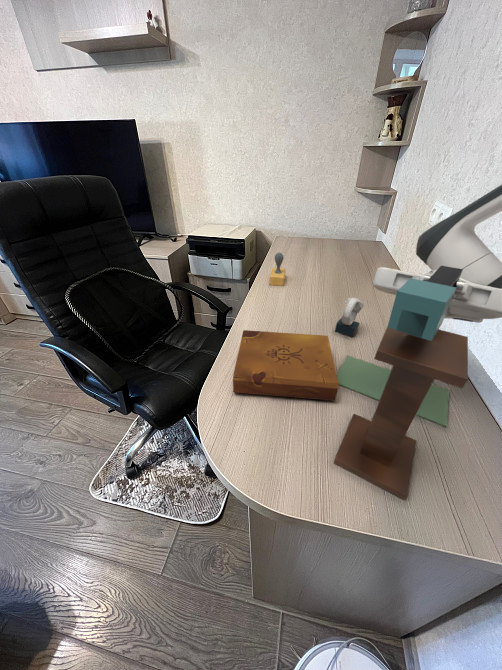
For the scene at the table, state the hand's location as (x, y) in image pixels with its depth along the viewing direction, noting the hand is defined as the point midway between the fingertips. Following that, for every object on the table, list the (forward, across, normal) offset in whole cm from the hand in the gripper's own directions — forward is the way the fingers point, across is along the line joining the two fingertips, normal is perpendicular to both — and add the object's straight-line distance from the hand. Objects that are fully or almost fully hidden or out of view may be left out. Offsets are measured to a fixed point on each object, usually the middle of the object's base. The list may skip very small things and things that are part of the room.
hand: (442, 283), depth 41 cm
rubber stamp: (-60, -53, +1) cm, 80 cm away
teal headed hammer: (+3, -1, +4) cm, 5 cm away
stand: (-7, 0, +32) cm, 32 cm away
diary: (-17, -25, +26) cm, 40 cm away
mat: (-25, -1, +22) cm, 33 cm away
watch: (-40, -17, +13) cm, 46 cm away
